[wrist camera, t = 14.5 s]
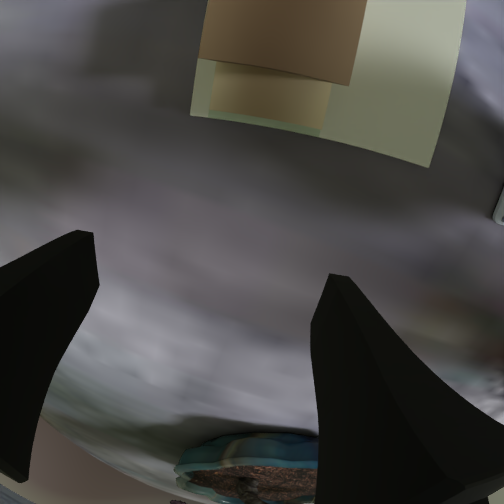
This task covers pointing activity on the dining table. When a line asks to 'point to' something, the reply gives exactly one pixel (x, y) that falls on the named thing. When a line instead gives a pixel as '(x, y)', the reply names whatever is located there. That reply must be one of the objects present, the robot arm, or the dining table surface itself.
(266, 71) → the birch slab
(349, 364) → the robot arm
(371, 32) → the board
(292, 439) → the bonsai tree
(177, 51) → the dining table surface
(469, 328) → the dining table surface
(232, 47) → the walnut cube
